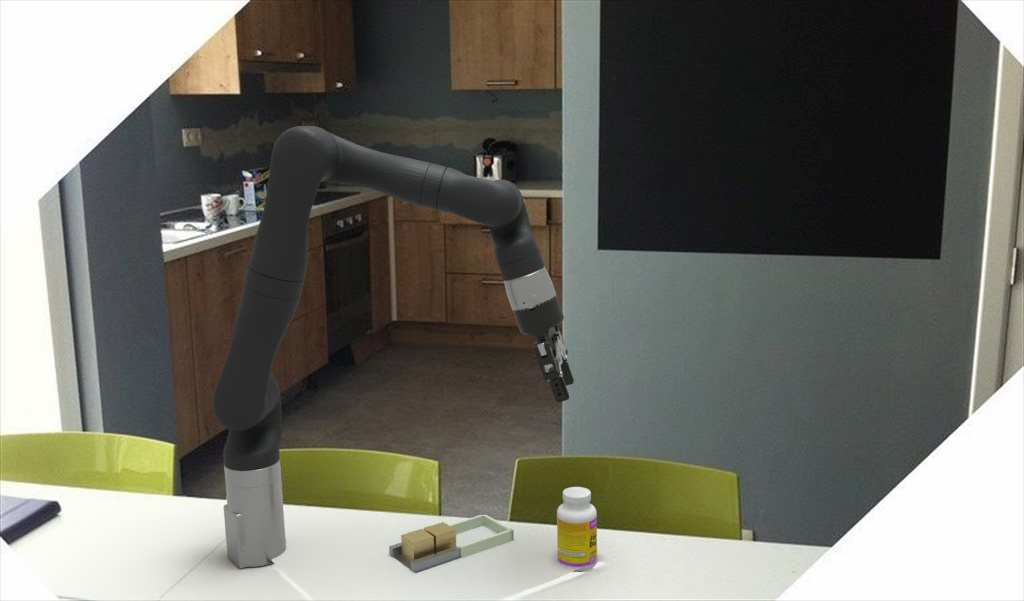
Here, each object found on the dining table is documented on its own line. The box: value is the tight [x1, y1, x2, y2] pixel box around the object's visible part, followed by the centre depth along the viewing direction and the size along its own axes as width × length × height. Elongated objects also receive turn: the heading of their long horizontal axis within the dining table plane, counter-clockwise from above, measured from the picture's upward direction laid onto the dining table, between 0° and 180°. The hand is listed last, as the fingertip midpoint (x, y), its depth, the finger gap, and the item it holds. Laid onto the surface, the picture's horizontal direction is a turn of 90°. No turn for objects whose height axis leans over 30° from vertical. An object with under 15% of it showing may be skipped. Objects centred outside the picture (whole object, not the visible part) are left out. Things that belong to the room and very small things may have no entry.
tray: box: [448, 513, 515, 558], centre depth 167 cm, size 11×9×3 cm
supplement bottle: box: [556, 486, 598, 573], centre depth 158 cm, size 7×7×13 cm
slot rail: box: [388, 542, 463, 574], centre depth 161 cm, size 9×9×2 cm
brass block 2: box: [422, 521, 457, 553], centre depth 163 cm, size 4×4×4 cm
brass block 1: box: [400, 528, 434, 563], centre depth 160 cm, size 4×4×4 cm
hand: (566, 392), depth 155 cm, fingers open, 8 cm apart
